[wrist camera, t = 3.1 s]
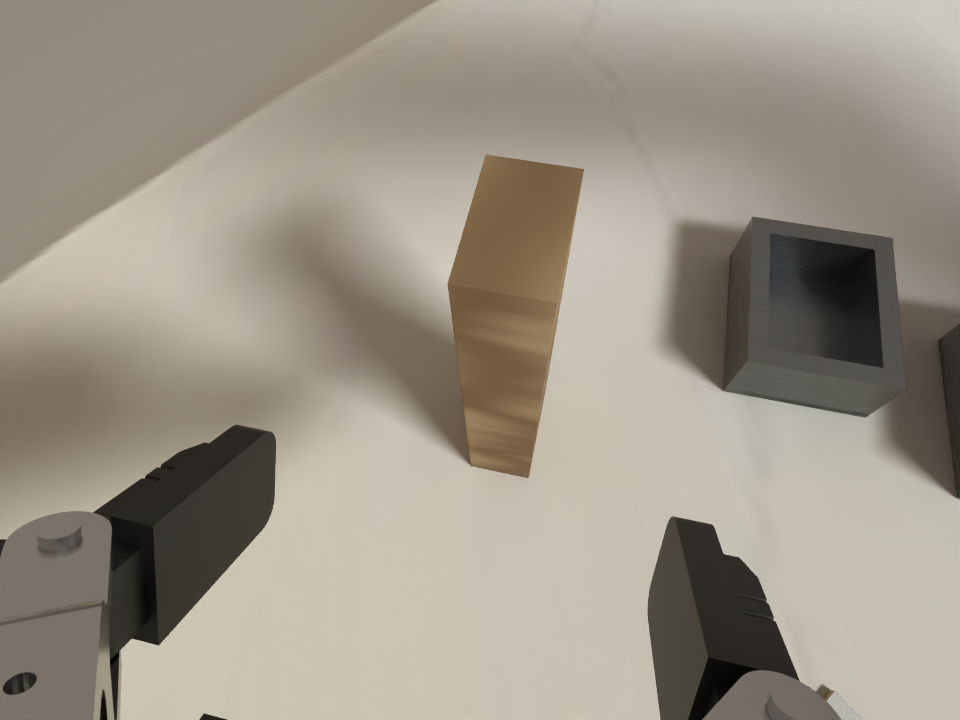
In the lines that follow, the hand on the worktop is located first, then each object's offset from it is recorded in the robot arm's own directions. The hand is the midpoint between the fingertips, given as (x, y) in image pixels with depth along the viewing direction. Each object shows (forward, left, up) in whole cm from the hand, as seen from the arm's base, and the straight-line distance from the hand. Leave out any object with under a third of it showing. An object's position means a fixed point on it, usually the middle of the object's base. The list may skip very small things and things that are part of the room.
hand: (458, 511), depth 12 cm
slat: (-2, -6, -13) cm, 15 cm away
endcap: (-16, -9, -13) cm, 23 cm away
